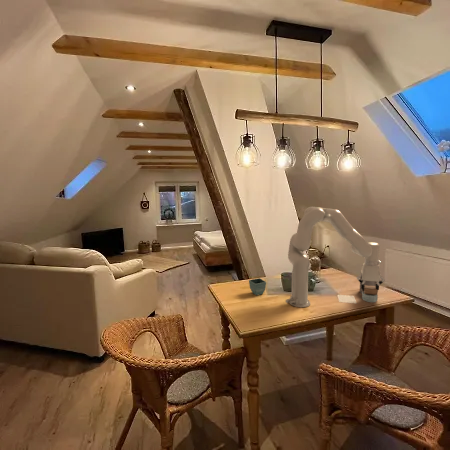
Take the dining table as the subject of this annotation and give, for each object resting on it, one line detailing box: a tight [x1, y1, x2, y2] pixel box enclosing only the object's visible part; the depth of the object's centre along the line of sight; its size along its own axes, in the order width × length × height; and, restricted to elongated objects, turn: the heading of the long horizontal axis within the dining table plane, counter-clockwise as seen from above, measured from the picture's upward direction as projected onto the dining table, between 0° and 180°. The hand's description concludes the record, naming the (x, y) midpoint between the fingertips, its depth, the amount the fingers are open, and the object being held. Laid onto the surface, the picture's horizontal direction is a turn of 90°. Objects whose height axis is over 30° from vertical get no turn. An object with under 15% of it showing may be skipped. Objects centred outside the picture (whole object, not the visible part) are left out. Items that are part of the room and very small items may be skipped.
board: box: [363, 285, 379, 295], centre depth 174 cm, size 7×7×3 cm
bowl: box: [361, 292, 379, 303], centre depth 174 cm, size 8×8×4 cm
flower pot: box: [248, 277, 267, 296], centre depth 188 cm, size 9×9×9 cm
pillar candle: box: [359, 271, 377, 294], centre depth 185 cm, size 10×10×15 cm
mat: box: [337, 294, 357, 304], centre depth 177 cm, size 12×10×1 cm
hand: (369, 290), depth 174 cm, fingers closed on board, 6 cm apart
